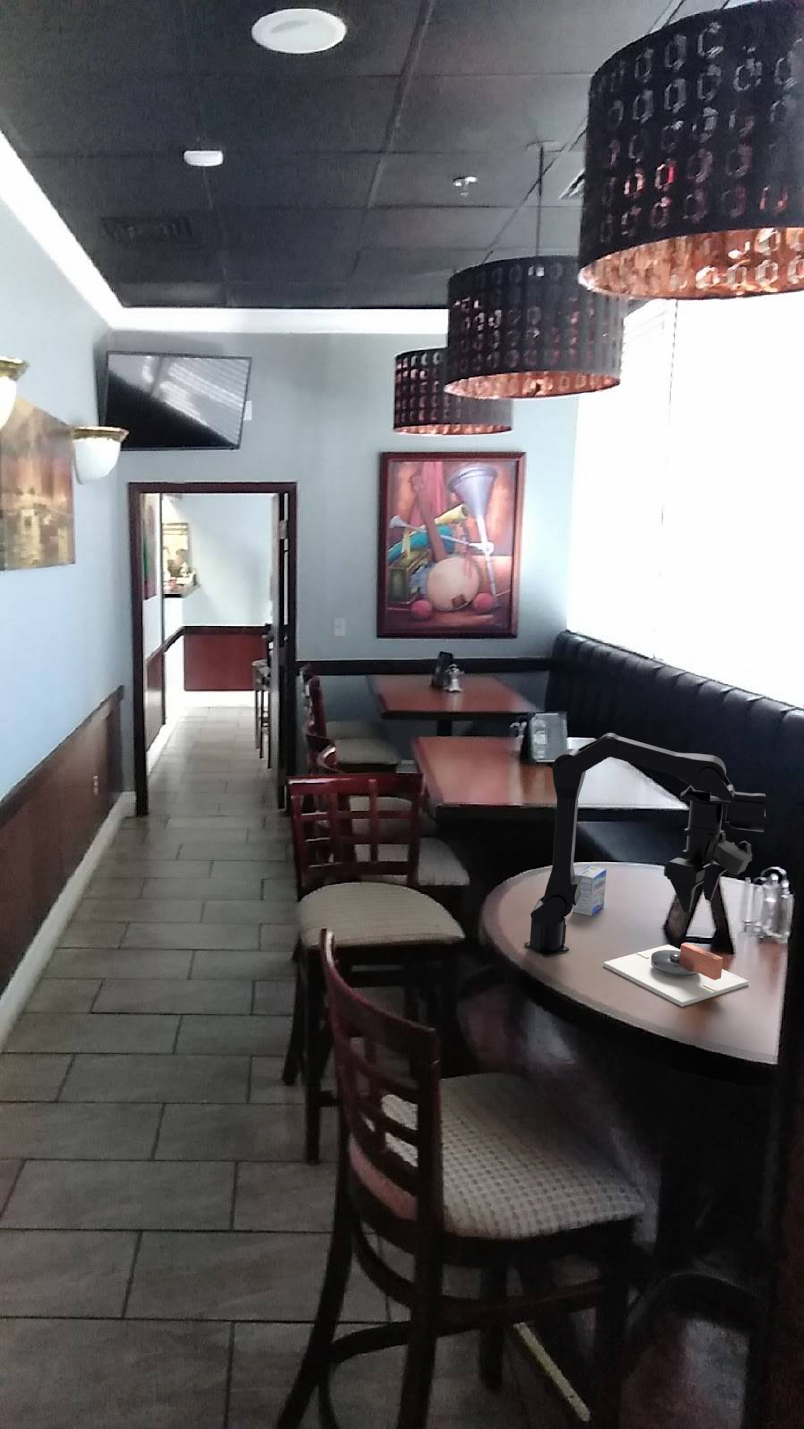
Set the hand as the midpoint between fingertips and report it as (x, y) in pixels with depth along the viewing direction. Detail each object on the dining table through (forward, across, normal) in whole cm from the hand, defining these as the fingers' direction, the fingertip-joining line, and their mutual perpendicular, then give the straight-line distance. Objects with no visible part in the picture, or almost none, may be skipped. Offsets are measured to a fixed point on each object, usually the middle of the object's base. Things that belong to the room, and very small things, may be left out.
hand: (697, 906), depth 185 cm
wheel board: (+13, -3, +2) cm, 14 cm away
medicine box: (+13, +15, +31) cm, 37 cm away
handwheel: (+11, -4, -1) cm, 12 cm away
